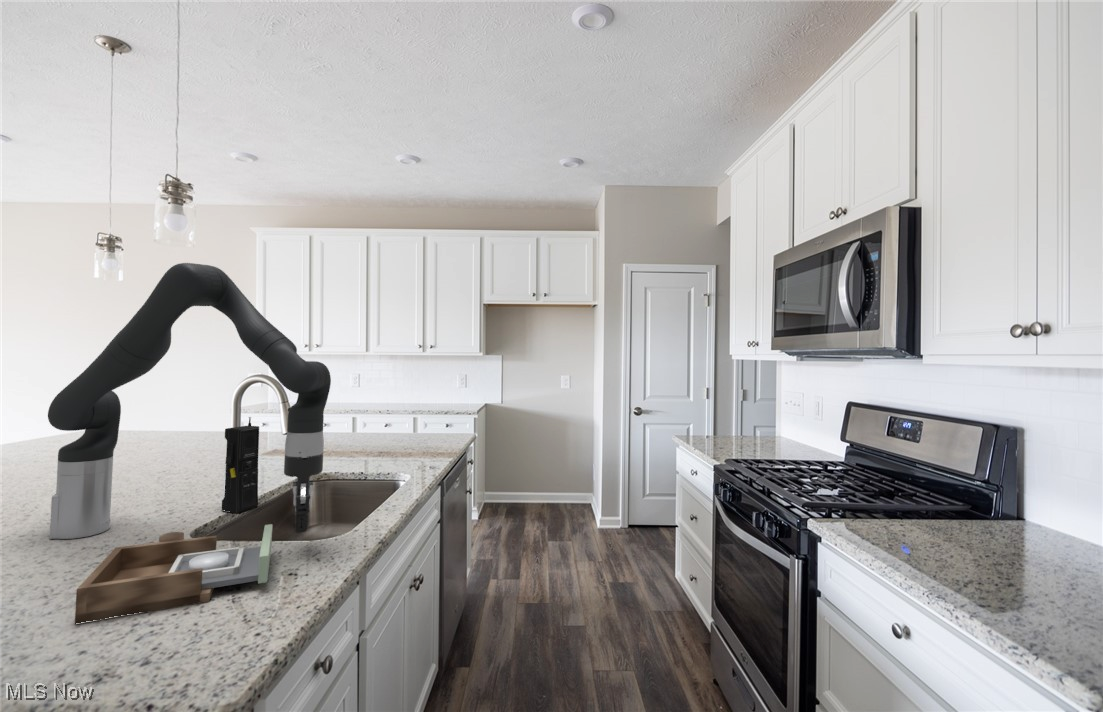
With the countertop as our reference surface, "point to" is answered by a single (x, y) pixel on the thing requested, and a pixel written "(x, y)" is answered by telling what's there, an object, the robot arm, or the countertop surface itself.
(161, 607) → the wooden drawer box
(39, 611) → the countertop surface
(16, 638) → the countertop surface
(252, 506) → the portable radio
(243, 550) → the tray
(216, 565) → the disc
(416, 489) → the countertop surface
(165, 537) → the stand
